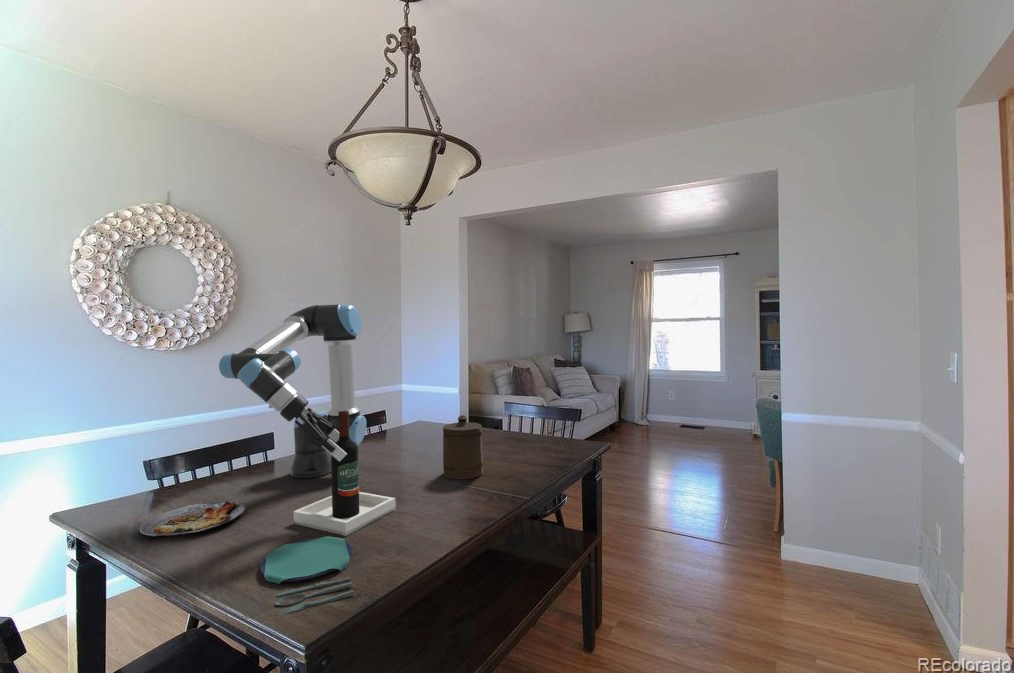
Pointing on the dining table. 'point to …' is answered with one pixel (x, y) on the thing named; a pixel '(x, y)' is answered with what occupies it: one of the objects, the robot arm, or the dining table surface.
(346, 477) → the wine bottle
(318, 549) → the cutlery set
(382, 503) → the tray
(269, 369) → the robot arm
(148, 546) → the dining table surface
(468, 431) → the wooden container
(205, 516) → the food plate
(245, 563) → the dining table surface
